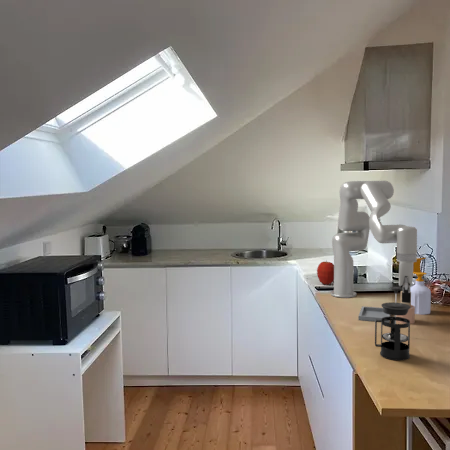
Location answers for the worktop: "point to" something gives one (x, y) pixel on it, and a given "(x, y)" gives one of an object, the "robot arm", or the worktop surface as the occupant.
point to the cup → (408, 315)
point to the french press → (394, 331)
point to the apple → (325, 272)
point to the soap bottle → (420, 291)
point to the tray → (372, 314)
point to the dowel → (403, 302)
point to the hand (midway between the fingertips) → (406, 299)
